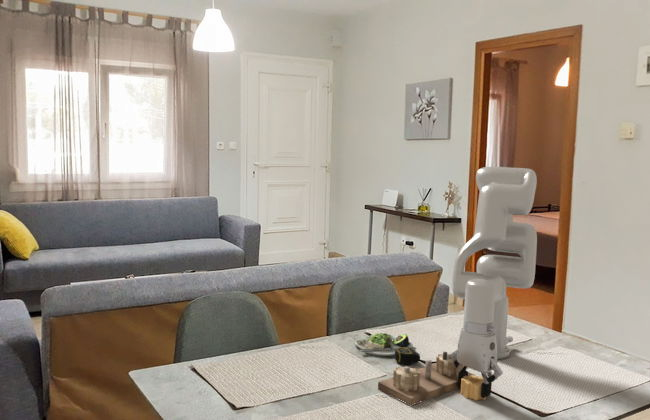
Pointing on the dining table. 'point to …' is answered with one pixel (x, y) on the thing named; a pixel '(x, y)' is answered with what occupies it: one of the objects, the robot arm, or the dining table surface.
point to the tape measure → (406, 355)
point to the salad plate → (383, 344)
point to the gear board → (422, 380)
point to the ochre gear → (472, 387)
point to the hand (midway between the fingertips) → (473, 390)
